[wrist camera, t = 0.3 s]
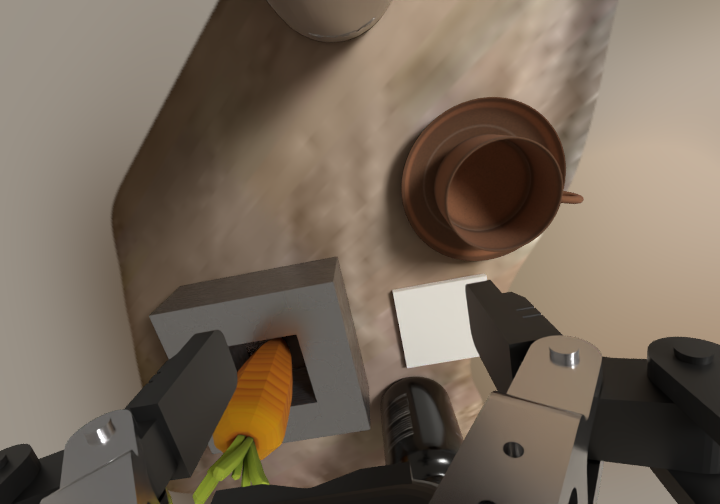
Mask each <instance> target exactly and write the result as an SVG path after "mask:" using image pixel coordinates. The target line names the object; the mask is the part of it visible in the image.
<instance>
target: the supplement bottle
mask: <svg viewBox="0 0 720 504" xmlns="http://www.w3.org/2000/svg"><path fill="white" fill-rule="evenodd" d="M381 420H382V431H383V442H384V453H385V464H386V465H391V464H398V463H405V462H409V463H410V467H411V472H412V477H413V479H417V480H424V481H428V482H433V483H436V484H440V482H441V480H442V479H443V477H444V475H445V473H446V472H447V470H448V468H449V466H450V464H451V463H452V461H453V459H454V457H455V455H456V454H457V452H458V450H459V448H460V446H461V445H462V443H463V441H464V440H463V437H462V434H461V431H460V428H459V425H458V422H457V419H456V416H455V413H454V410H453V407H452V404H451V401H450V399H449V396H448V394H447V392H446V391H445V389H444V388H443V387H442V386H441V385H440V384H438V383H437V382H435V381H433V380H431V379H428V378H424V377H410V378H406V379H402V380H400V381H398V382H396V383H395V384H393V385H392V386H391V387H390V388H389V389H388V390H387V391H386V393H385V394H384V396H383V398H382V402H381Z"/></svg>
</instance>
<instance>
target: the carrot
mask: <svg viewBox="0 0 720 504" xmlns="http://www.w3.org/2000/svg"><path fill="white" fill-rule="evenodd" d="M237 378H238V381H237V387H236V390H235V392H234V394H233V396H232V398H231V400H230V402H229V404H228V406H227V408H226V410H225V411H224V413H223V415H222V417H221V419H220V421H219V423H218V425H217V427H216V429H215V431H214V433H213V440H214V445H215V447H216V448H217V449H219V450H220V451H222V452H223V453H224V454H223V455H222V456H221V457H220V458H219V459H218V460H217V461H216V462H215V463H214V464H213V465H212V466H211V467H210V468H209V470H208V471H207V473H208V474H207V475H206V476H205V478H204V479H203V481H202V482H201V484H200V485H199V487H198V488H197V490H196V491H195V493H194V494H193V499H194V502H195V504H204V503H205V501H206V500H207V498H208V497H209V495H210V494H211V493H212V491H213V490H214V488H215V487H216V485H217V484H218V482H219V481H222V480H223V479H224V478H226V477H227V476H228V475H229V474H230V473H231V472H232V471H233V472H232V476H231V477H232V478H233V479H234V480H237V479H239V478H240V476H241V471H242V466H243V471H242V484H241V487H245V486H250V480H251V482H252V485H258V484H268V485H270V484H269V482H268V480H267V478H266V476H265V474H264V471H263V468H262V465H261V462H260V460H263V459H264V458H265V457H266V456H268V455H269V454H270V453H271V452H273V451H274V450H275V449H276V448H278V447H279V446H280V445H281V443H282V442H283V439H284V437H285V432H286V427H287V422H288V418H289V412H290V406H291V400H292V383H293V380H292V360H291V353H290V350H289V347H288V345H287V344H286V342H285V341H284V340H283V339H282V338H274V339H271V340H269V341H267V342H266V343H265V344H263V345H262V346H261V347H260V348H259V349H258V350H257V351H255V352H254V353H253V354H252V355H251V356H250V358H249V359H248V360H247V361H246V362H245V363H244V364H243V366H242V367H241V368H240V369H239V371H238V372H237Z"/></svg>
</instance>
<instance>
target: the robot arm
mask: <svg viewBox="0 0 720 504" xmlns="http://www.w3.org/2000/svg"><path fill="white" fill-rule="evenodd" d="M391 1H392V0H267V2H268V3H269V4H270V5H271V6H272V8H273V9H274V10H275V11H276V13H277V14H278V15H279V16H280V17H281V18H282V19H283V20H284V21H285V22H286V23H287V24H288V25H289V26H290V27H291V28H293V29H294V30H296V31H297V32H299V33H300V34H302V35H303V36H306V37H308V38H311V39H314V40H316V41H323V42H340V41H346V40H349V39H352V38H354V37H357V36H359V35H361V34H362V33H364V32H365V31H367V30H368V29H370V28H371V27H372V26H373V25H374V24H375V23H376V22H377V21H378V20H379V19H380V18H381V17H382V16H383V14H384V12H385V11H386V9H387V8H388V6H389V5H390V3H391ZM465 293H466V300H467V308H468V315H469V323H470V330H471V335H472V339H473V342H474V345H475V348H476V350H477V352H478V354H479V356H480V358H481V360H482V361H483V363H484V365H485V367H486V369H487V371H488V373H489V375H490V377H491V379H492V381H493V383H494V384H495V386H496V388H497V390H498V391H493V392H491V394H490V395H489V396H488V398H487V400H486V402H485V403H484V405H483V407H482V409H481V410H480V412H479V414H478V416H477V418H476V419H475V421H474V423H473V425H472V427H471V428H470V430H469V432H468V434H467V436H466V437H465V439H464V441H463V443H462V445H461V446H460V448H459V450H458V452H457V454H456V455H455V457H454V459H453V461H452V463H451V464H450V466H449V468H448V470H447V472H446V473H445V475H444V477H443V479H442V480H441V482H440V484H436V483H433V482H428V481H424V480H417V479H413V477H412V472H411V467H410V463H409V462H405V463H398V464H391V465H385V466H378V467H371V468H365V469H359V470H357V471H354V472H352V473H349V474H346V475H344V476H341V477H339V478H336V479H333V480H331V481H328V482H326V483H323V484H320V485H318V486H315V487H312V488H295V487H286V486H277V485H268V484H258V485H251V486H245V487H238V488H231V489H225V490H218V491H216V492H215V495H214V497H213V500H212V502H211V504H597V500H598V494H599V488H600V482H601V476H602V469H603V464H604V461H606V462H615V463H622V464H630V465H639V466H646V467H650V469H651V470H652V471H653V473H654V474H655V475H656V476H657V478H658V479H659V480H660V482H661V483H662V484H663V485H664V487H665V488H666V489H667V491H668V492H669V493H670V494H671V496H672V497H673V498H674V499H675V501H676V502H677V503H678V504H720V345H718V344H715V343H713V342H709V341H705V340H701V339H696V338H688V337H667V338H662V339H658V340H656V341H654V342H652V343H651V344H650V345H649V346H648V351H647V359H625V358H608V357H602V354H601V352H600V350H599V349H598V348H597V347H596V346H594V345H593V344H591V343H590V342H588V341H585V340H582V339H579V338H576V337H571V336H563V335H562V334H561V333H560V332H559V331H558V330H557V329H556V328H555V327H554V326H553V325H552V324H551V323H550V322H549V321H548V320H547V319H546V318H545V317H544V316H543V315H541V313H540V312H539V311H538V310H537V309H536V308H534V306H533V305H532V304H531V303H530V302H529V301H528V300H527V299H526V298H525V297H522V296H520V295H518V294H515V293H513V292H508V293H501V292H500V290H499V289H498V288H497V287H496V286H495V285H494V284H493V282H492V281H491V280H487V281H481V282H476V283H470V284H466V285H465ZM237 381H238V378H237V371H236V367H235V365H234V362H233V359H232V356H231V354H230V351H229V348H228V345H227V342H226V340H225V337H224V335H223V333H222V332H221V331H220V330H213V331H207V332H202V333H196V334H194V335H193V336H192V337H191V338H190V340H189V341H188V342H187V343H186V344H185V345H184V346H183V348H182V349H181V350H180V351H179V352H178V353H177V354H176V355H175V356H173V357H172V358H171V359H169V360H168V361H167V362H166V363H165V364H164V365H163V366H162V367H161V368H160V369H159V370H158V372H157V374H156V375H154V376H153V377H152V378H151V379H150V381H149V384H146V385H145V386H144V387H143V388H142V390H141V391H140V392H139V393H138V394H137V395H136V396H135V398H134V399H133V400H132V401H131V402H130V403H129V404H128V406H126V408H125V409H123V410H116V411H112V412H109V413H106V414H104V415H101V416H99V417H97V418H95V419H94V420H92V421H90V422H89V423H87V424H86V425H84V426H83V427H81V428H80V429H79V430H78V431H77V432H76V433H74V434H73V436H71V437H70V439H69V440H68V441H67V443H66V445H65V449H64V450H62V451H59V452H57V453H54V454H51V455H49V456H46V457H43V458H40V459H38V458H37V456H36V454H35V453H34V451H33V449H32V448H31V446H30V445H28V444H20V445H15V446H12V447H9V448H6V449H4V450H1V451H0V504H173V503H172V499H171V496H170V494H169V491H168V489H167V487H166V486H167V484H168V482H169V481H170V480H176V479H182V478H189V477H191V476H192V474H193V472H194V470H195V468H196V466H197V464H198V462H199V460H200V458H201V456H202V454H203V452H204V450H205V448H206V446H207V445H208V443H209V441H210V439H211V437H212V435H213V433H214V431H215V429H216V427H217V425H218V423H219V421H220V419H221V417H222V415H223V413H224V411H225V410H226V408H227V406H228V404H229V402H230V400H231V398H232V396H233V394H234V392H235V390H236V387H237Z"/></svg>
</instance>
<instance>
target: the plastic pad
mask: <svg viewBox="0 0 720 504" xmlns="http://www.w3.org/2000/svg"><path fill="white" fill-rule="evenodd" d="M481 281H487V276H486V274H485V273H484V274H478V275H473V276H467V277H462V278H456V279H451V280H445V281H440V282H434V283H429V284H423V285H417V286H412V287H406V288H401V289H395V290H392V291H393V296H394V301H395V307H396V312H397V317H398V322H399V328H400V333H401V338H402V343H403V349H404V354H405V359H406V364H407V368H411V367H417V366H424V365H430V364H436V363H442V362H448V361H454V360H460V359H466V358H472V357H478V356H479V354H478V352H477V350H476V348H475V345H474V342H473V339H472V335H471V330H470V323H469V315H468V308H467V300H466V293H465V285H466V284H470V283H476V282H481Z"/></svg>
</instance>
